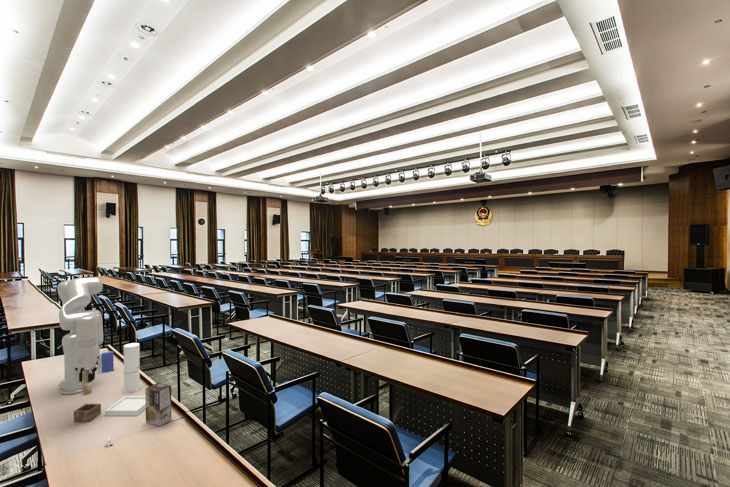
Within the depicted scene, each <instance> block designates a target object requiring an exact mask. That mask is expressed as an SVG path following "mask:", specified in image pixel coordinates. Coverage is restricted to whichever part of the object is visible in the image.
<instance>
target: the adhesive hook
mask: <svg viewBox="0 0 730 487" xmlns="http://www.w3.org/2000/svg"><path fill="white" fill-rule="evenodd" d="M104 443H105V444H104V446H105V447H108V448H109V447H110V446H111V445H112V446H114V444H113V440H112V437H108V438H106V439H105V441H104Z"/></svg>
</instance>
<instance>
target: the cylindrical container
mask: <svg viewBox="0 0 730 487" xmlns="http://www.w3.org/2000/svg"><path fill="white" fill-rule="evenodd" d="M140 360H141V358H140V343H139V342H131V343H126V344H124V345H123V393H127V394H129V393H135V392H137V391H139V390H140V389H141V386H140V385H141V384H140V382H141V381H140V380H141V378H140V377H141V374H140V370H141V369H140V368H141V367H140V365H141V364H140V363H141V362H140Z"/></svg>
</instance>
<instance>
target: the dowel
mask: <svg viewBox="0 0 730 487" xmlns="http://www.w3.org/2000/svg"><path fill="white" fill-rule="evenodd" d="M88 374H89V368H87V369H86V370H83V371H82V392H81V393H82V396H90V394H92V393H93V388H92V387H93V386H92V385H93V384H92V383H93V381H91V382H88Z"/></svg>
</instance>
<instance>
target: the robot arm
mask: <svg viewBox="0 0 730 487" xmlns="http://www.w3.org/2000/svg"><path fill="white" fill-rule="evenodd" d="M103 286H104V285H103V280H102V279H101V277H98V276H93V277H90V276H88V277H79V278H78V277H77V278H73V279H71V280H65V281H62V282H59V283H58V284H57V294H58V297H59V299H60V300H61V302H62V306H61V307H60V309H59V311H58V321H59V327H60V329H61V330H63V331H73V330H75V332H71V333H67V334H65V335H64V336H62V337H61V338H62V339H61V344H62V350H63V357H64V362H63V364H64V380H61V381H60V382H59V384H58V387H62V389H61V390H60V393H61V394H62V395H75V394H79V393H82V371H83V370H86V369H89V374H88V382H91V381H92V382H93V381H94V380H96V371H98V368H100V367H102V364H101V362H100V353H101V351H100V346H101V345H102V344H103V342H104V326H103V315H102V313H101V311H100V310H98V309H90V310H89V309H88V310H85V307H86V306H87V305H89V304H90V303H91V301H92V296H91V295H97V294H99V293H101V292H102V290H103Z"/></svg>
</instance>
